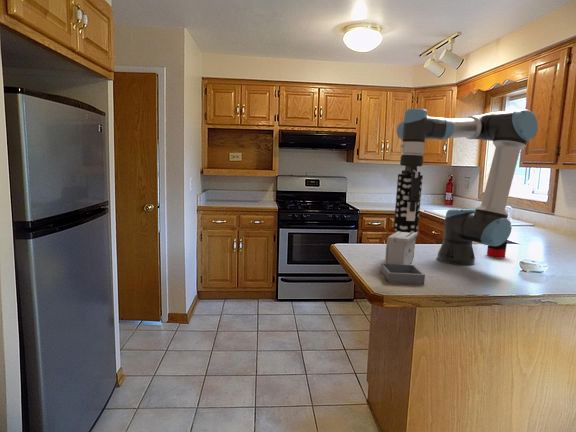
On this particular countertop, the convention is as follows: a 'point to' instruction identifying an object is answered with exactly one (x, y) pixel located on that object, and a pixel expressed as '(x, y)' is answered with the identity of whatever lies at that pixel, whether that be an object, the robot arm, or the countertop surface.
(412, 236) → the stereo radio cassette player
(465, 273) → the countertop surface
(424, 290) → the countertop surface
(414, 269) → the tray
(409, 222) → the spotted tube
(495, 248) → the soda can
